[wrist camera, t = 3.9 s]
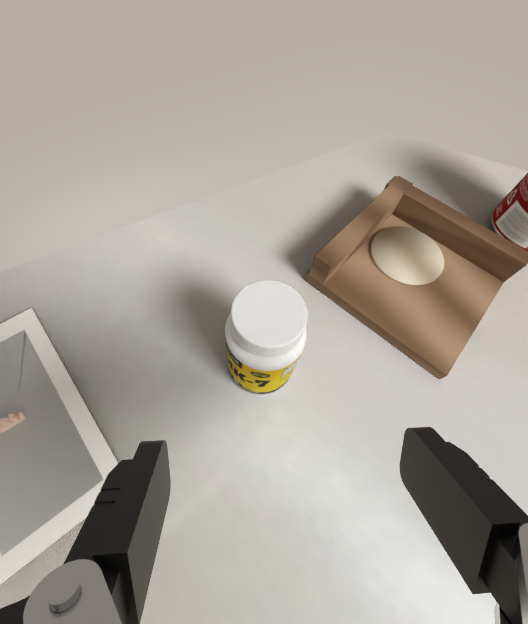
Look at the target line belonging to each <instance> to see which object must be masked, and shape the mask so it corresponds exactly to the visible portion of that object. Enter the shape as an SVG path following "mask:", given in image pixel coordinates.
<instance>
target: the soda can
mask: <svg viewBox="0 0 528 624" xmlns="http://www.w3.org/2000/svg"><path fill="white" fill-rule="evenodd" d="M491 222H492V225H493V228H494V230H495V231H496V233H497V234H498V235H500V236H502V237H504V238H505V239H507V240H509V241H511V242H512V243H514V244H516V245H518V246H520V247H521V248H523V249H525V250H527V251H528V173H527V174H526V176H525V177H524V178H523V179H522V180H521V181H520V182H519V183H518V184H517V185H516V186H515V187H514V188H513V190H512V191H511V192H510V193H509V194H508V195H507V196H506V197H505V198H504V199H503V200H502V201H501V203H500V204H499V205H498V206H497V207H496V208H495V209H494V210H493V212H492V215H491Z"/></svg>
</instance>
